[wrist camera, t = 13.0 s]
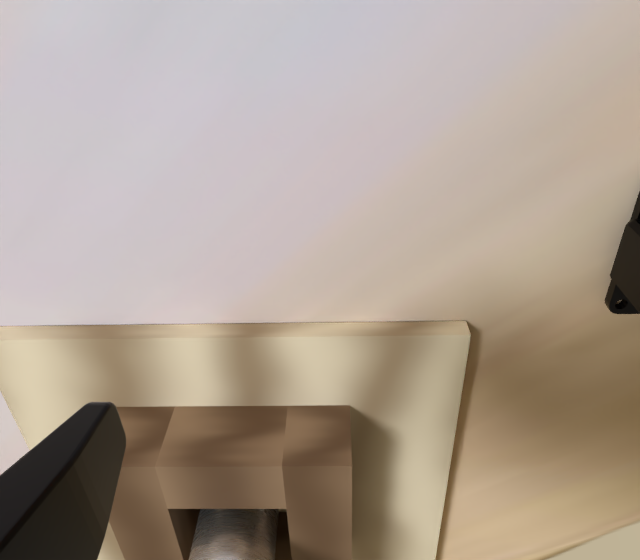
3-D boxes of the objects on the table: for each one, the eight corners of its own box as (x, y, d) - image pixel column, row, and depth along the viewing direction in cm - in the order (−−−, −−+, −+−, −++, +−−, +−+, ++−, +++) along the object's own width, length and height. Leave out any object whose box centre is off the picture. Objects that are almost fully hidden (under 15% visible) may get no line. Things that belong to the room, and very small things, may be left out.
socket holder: (465, 321, 24) (491, 393, 20) (429, 564, 35) (441, 640, 31) (-13, 326, 25) (-75, 397, 21) (98, 563, 36) (70, 637, 32)
